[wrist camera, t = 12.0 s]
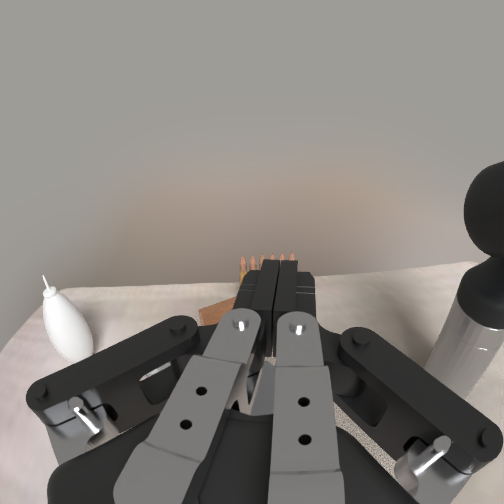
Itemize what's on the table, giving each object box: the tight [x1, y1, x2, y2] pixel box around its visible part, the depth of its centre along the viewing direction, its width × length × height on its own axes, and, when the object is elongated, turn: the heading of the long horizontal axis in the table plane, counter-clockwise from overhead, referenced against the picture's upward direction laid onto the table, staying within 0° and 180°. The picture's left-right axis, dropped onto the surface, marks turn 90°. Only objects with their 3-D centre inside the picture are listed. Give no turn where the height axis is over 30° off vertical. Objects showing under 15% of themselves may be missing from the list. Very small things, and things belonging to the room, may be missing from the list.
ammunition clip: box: [240, 253, 295, 286], centre depth 52 cm, size 11×2×12 cm, turn 94°
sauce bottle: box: [43, 276, 93, 364], centre depth 37 cm, size 8×8×18 cm
